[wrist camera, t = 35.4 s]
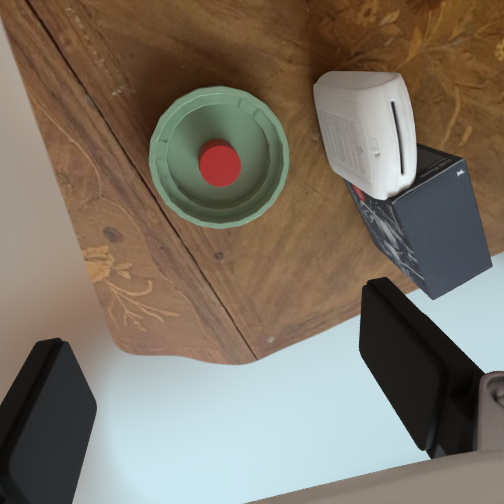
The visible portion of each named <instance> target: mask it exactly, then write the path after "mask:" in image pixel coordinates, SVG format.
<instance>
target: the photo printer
mask: <svg viewBox="0 0 504 504" xmlns="http://www.w3.org/2000/svg"><path fill="white" fill-rule="evenodd" d="M313 94H314V101H315V106H316V112H317V116H318V121H319V125H320V130H321V134H322V138H323V142H324V146H325V151H326V154H327V158H328V161H329V164H330V166H331V168H332V170H333V171H334V172H336V173H337V174H339V175H340V176H342V177H343V178H345V179H346V180H348V181H349V182H351V183H352V184H354V185H355V186H357V187H358V188H360V189H361V190H363V191H364V192H365V193H367V194H368V195H370V196H371V197H373V198H376V199H381V200H386V199H387V198H388V197H392V196H395V195H397V194H399V193H400V192H401V191H403V190H404V189H407V188H409V187H410V186H411V185H412V184H413V182H414V180H415V176H416V165H417V147H416V134H415V125H414V118H413V112H412V107H411V102H410V98H409V94H408V91H407V88H406V85H405V83H404V80H403V78H402V76H401V74H399V73H391V72H364V71H330V72H327V73H325V74H324V75H322V76H321V77H320V78H319V79H318V81H317V82H316V84H314V85H313Z"/></svg>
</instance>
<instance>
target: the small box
mask: <svg viewBox="0 0 504 504" xmlns="http://www.w3.org/2000/svg"><path fill="white" fill-rule="evenodd" d="M416 147H417V165H416V176H415V180H414V182H413V184H412V185H411V186H410V187H409V188H407V189H404V190H403V191H401V192H400V193H399V194H397V195H395V196H392V197H388V198H387V199H386V200H381V199H376V198H373V197H371V196H370V195H368V194H367V193H365V192H364V191H363V190H361V189H360V188H358V187H357V186H355V185H354V184H352V183H351V182H349V181H348V180H346V179H345V178H343V179H344V181H345V183H346V185H347V187H348V189H349V192H350V194H351V196H352V198H353V200H354V202H355V204H356V206H357V208H358V210H359V212H360V214H361V216H362V218H363V220H364V222H365V224H366V226H367V228H368V230H369V232H370V235H371V237H372V239H373V241H374V243H375V245H376V247H377V248H378V249H379V250H380V251H381V252H382V253H383V254H385V255H386V256H387V257H388V258H389V259H390V260H391V261H392V262H393V263H394V264H395V265H396V266H397V267H398V268H399V269H400V270H401V271H402V272H403V273H405V274H406V275H407V276H408V277H409V278H410V279H411V280H412V281H413V282H414V283H415V284H416V285H417V286H418V287H419V288H420V289H422V291H424V292H425V293H426V294H427V295H428V296H429V297H430V298H431V299H432V300H435V299H437V298H438V297H440V296H442V295H444V294H446V293H447V292H449V291H451V290H453V289H454V288H456V287H458V286H460V285H462V284H463V283H465V282H467V281H469V280H470V279H472V278H474V277H475V276H477V275H479V274H481V273H482V272H484V271H486V270H487V269H489V268H491V267H492V266H493V265H492V262H491V258H490V254H489V250H488V246H487V242H486V238H485V234H484V230H483V227H482V223H481V219H480V215H479V211H478V207H477V203H476V199H475V196H474V192H473V188H472V184H471V180H470V176H469V172H468V168H467V165H466V161H465V159H464V158H461V157H459V156H455V155H451V154H448V153H445V152H442V151H439V150H436V149H433V148H430V147H427V146H424V145H421V144H418V143H416Z"/></svg>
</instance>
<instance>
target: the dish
mask: <svg viewBox="0 0 504 504" xmlns="http://www.w3.org/2000/svg"><path fill="white" fill-rule="evenodd" d="M213 139H222V140H225V141H227V142H229V144H231V146H232V147H234V149H235V150H236V152H237V155H238V156H239V158H240V161H241V171H240V174H239V176H238V178H237V179H236V180H235V181H234V182H233V183H232V184H230V185H228V186H225V187H216V186H213V185H211V184H209V183H208V182H206V181H205V179H204V178H203V177H202V175H201V172H200V170H199V159H198V155H199V152H200V148H201V147H202V146H203V145H204V144H205V143H206V142H208V141H210V140H213ZM149 167H150V171H151V175H152V179H153V183H154V186H155V188H156V189H157V191H158V192H159V194H160V196H161V197H162V199H163V201H164V202H165V203H166V205H167V206H169V207H170V208H171V209H172V210H173V211H174V212H175V213H177V214H178V215H179V216H180V217H182V218H183V219H185V220H188V221H190V222H192V223H194V224H197V225H199V226H202V227H210V228H218V229H220V228H221V229H223V228H229V227H236V226H240V225H243V224H245V223H247V222H249V221H251V220H253V219H255V218H257V217H259V216H260V215H261V214H262V213H263V212H265V211H266V210H267V209H268V208H269V207H270V206H271V205H272V204H273V203H274V202H275V200H276V198H277V197H278V195H279V193H280V192H281V190H282V188H283V187H284V184H285V181H286V177H287V173H288V169H289V146H288V141H287V138H286V136H285V133H284V130H283V127H282V125H281V123H280V121H279V120H278V118H277V117H276V116H275V115H274V113H273V112H272V111H271V110H270V108H269V107H268V106H267V105H266V104H265V103H264V102H262V101H261V100H259V99H257V98H256V97H254V96H253V95H251V94H250V93H248V92H246V91H243V90H239V89H235V88H231V87H226V86H222V85H214V86H206V87H198V88H195V89H193V90H191V91H189V92H187V93H186V94H184V95H182V96H180V97H178V98H177V99H176V100H175V101H174V102H173V103H172V104H171V105H170V106H169V107H168V108H167V109H166V110H165V111H164V112H163V114H162V115H161V117H160V118H159V121H158V123H157V125H156V128H155V130H154V132H153V134H152V137H151V140H150V150H149Z"/></svg>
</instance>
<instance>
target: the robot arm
mask: <svg viewBox="0 0 504 504" xmlns="http://www.w3.org/2000/svg"><path fill="white" fill-rule="evenodd" d="M359 351H360V354H361V357H362V358H363V360H364V362H365V363H366V365H367V367H368V368H369V369H370V371H371V373H372V374H373V376H374V378H375V379H376V381H377V383H378V384H379V386H380V387H381V389H382V391H383V392H384V394H385V395H386V397H387V399H388V400H389V402H390V403H391V405H392V407H393V408H394V410H395V412H396V413H397V415H398V416H399V418H400V420H401V421H402V423H403V424H404V426H405V428H406V429H407V431H408V432H409V434H410V436H411V437H412V439H413V440H414V442H415V444H416V445H417V447H418V448H419V449H420V450H422V451H424V450H426V452H427V454H428V455H429V457H430V458H431V460H426V461H422V462H417V463H412V464H408V465H404V466H399V467H394V468H390V469H386V470H381V471H377V472H373V473H369V474H365V475H360V476H356V477H352V478H348V479H344V480H340V481H335V482H331V483H328V484H323V485H319V486H314V487H311V488H306V489H302V490H298V491H294V492H290V493H286V494H282V495H277V496H274V497H269V498H265V499H261V500H257V501H253V502H249V503H245V504H504V371H493V372H489V373H486V374H485V373H484V372H483V371H482V370H481V369H480V368H479V367H478V366H477V365H476V364H475V363H474V362H473V361H472V360H471V359H470V358H469V357H468V356H467V355H466V354H465V353H464V352H463V351H462V350H461V349H460V348H459V347H458V346H457V345H456V344H455V343H454V342H453V341H452V340H451V339H450V338H449V337H448V336H447V335H446V334H445V333H444V332H443V331H441V329H440V328H439V327H438V326H437V325H436V324H435V323H434V322H433V321H432V320H431V319H430V318H429V317H428V316H427V315H425V314H424V313H422V312H421V311H420V310H419V309H418V308H417V307H416V306H415V305H414V304H413V303H412V302H411V301H410V300H409V299H408V298H407V297H406V296H405V295H404V294H403V293H402V292H401V291H400V290H399V289H398V288H397V287H396V286H395V285H394V284H393V283H392V282H391V281H390V280H389V279H388V278H387V277H382V278H377V279H372V280H368V282H367V285H364V286H363V288H362V301H361V319H360V337H359ZM96 411H97V404H96V401H95V398H94V396H93V394H92V392H91V390H90V388H89V386H88V383H87V381H86V379H85V377H84V375H83V373H82V371H81V368H80V366H79V364H78V362H77V360H76V358H75V355H74V353H73V351H72V349H71V347H70V345H69V343H68V342H67V341H64V342H63V341H62V340H61V339H60V338H54V339H48V340H43V341H38V342H37V343H36V344H35V345H34V347H33V349H32V350H31V352H30V354H29V356H28V357H27V359H26V361H25V363H24V365H23V366H22V368H21V370H20V372H19V373H18V375H17V377H16V379H15V380H14V382H13V384H12V386H11V388H10V389H9V391H8V393H7V395H6V397H5V398H4V400H3V402H2V403H1V405H0V504H72V502H73V498H74V494H75V491H76V487H77V483H78V479H79V476H80V472H81V468H82V465H83V461H84V457H85V453H86V450H87V446H88V442H89V438H90V435H91V431H92V427H93V423H94V420H95V416H96Z"/></svg>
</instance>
